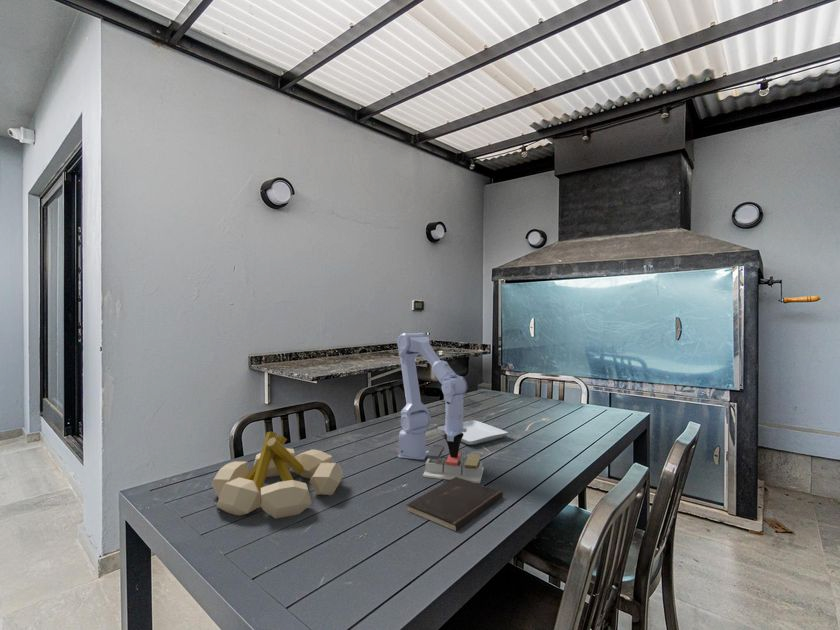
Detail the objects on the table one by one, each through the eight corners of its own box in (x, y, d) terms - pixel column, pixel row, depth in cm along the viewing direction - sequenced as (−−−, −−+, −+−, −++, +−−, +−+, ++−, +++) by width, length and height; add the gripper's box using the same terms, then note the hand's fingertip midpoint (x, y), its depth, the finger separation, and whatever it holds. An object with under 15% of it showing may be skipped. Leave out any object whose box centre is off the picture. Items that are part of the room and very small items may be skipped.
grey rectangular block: (426, 467, 132) (426, 455, 132) (433, 456, 141) (433, 444, 141) (437, 468, 131) (438, 456, 131) (444, 457, 141) (444, 445, 140)
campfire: (281, 461, 145) (281, 412, 144) (362, 481, 129) (362, 426, 129) (184, 504, 114) (184, 442, 113) (275, 536, 98) (274, 464, 98)
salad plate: (509, 439, 170) (509, 431, 169) (469, 449, 158) (469, 440, 157) (474, 426, 187) (474, 419, 187) (436, 435, 175) (436, 426, 175)
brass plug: (464, 477, 129) (464, 464, 129) (468, 465, 139) (469, 453, 138) (476, 478, 128) (476, 465, 128) (479, 466, 138) (479, 454, 138)
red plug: (445, 474, 130) (445, 461, 130) (451, 462, 140) (451, 450, 140) (456, 475, 129) (456, 462, 129) (461, 463, 139) (461, 451, 139)
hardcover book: (406, 512, 110) (406, 504, 110) (455, 484, 128) (456, 476, 128) (456, 534, 100) (456, 524, 100) (502, 500, 118) (502, 491, 118)
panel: (422, 476, 132) (422, 466, 132) (430, 463, 142) (430, 454, 142) (480, 483, 127) (480, 472, 127) (483, 469, 138) (483, 459, 138)
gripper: (463, 421, 126) (462, 466, 127) (469, 410, 140) (469, 450, 141) (440, 420, 128) (440, 464, 128) (448, 408, 142) (448, 448, 142)
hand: (454, 456), depth 135 cm, fingers closed, pressing on red plug
